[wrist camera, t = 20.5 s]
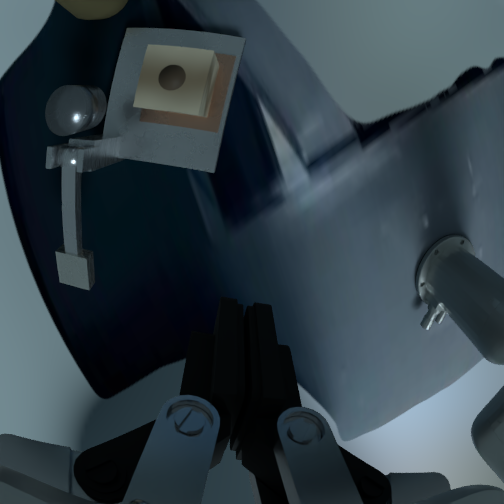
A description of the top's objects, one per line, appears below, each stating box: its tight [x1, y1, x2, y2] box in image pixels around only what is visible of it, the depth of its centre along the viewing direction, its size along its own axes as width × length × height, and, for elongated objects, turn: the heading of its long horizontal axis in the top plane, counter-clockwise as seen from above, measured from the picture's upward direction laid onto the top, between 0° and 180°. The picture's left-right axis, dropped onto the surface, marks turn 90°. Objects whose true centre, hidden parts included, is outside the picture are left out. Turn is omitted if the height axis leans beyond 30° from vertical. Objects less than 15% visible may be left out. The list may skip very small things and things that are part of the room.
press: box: [46, 28, 246, 173], centre depth 25 cm, size 16×15×12 cm
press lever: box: [45, 85, 107, 290], centre depth 24 cm, size 21×4×4 cm, turn 167°
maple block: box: [133, 44, 220, 117], centre depth 25 cm, size 6×6×7 cm
